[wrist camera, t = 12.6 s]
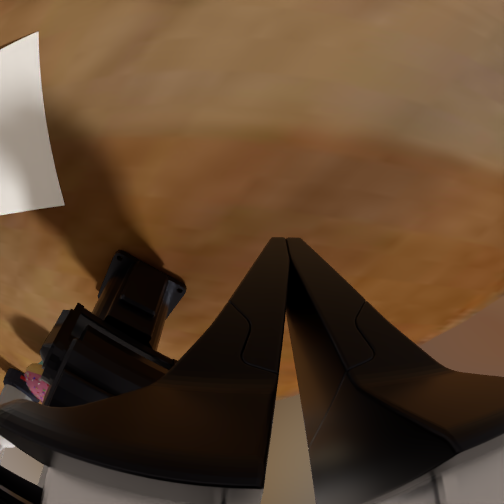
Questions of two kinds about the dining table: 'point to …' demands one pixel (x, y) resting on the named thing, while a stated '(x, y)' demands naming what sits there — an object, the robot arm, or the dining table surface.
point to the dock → (24, 133)
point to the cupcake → (36, 380)
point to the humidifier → (14, 394)
